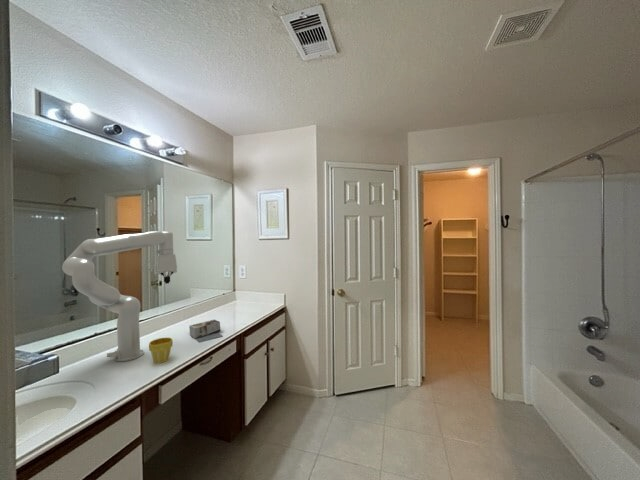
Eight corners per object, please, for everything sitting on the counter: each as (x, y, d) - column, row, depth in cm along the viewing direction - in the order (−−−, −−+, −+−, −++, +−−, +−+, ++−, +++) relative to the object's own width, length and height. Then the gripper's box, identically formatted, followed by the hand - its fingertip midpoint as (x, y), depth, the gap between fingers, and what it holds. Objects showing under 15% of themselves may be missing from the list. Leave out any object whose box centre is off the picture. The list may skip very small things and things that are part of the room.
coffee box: (195, 338, 163) (220, 331, 174) (194, 328, 163) (220, 321, 174) (189, 335, 169) (214, 328, 180) (189, 325, 169) (214, 319, 180)
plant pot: (177, 358, 138) (176, 339, 138) (156, 366, 129) (156, 346, 129) (165, 354, 143) (165, 335, 143) (145, 362, 134) (144, 342, 134)
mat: (199, 342, 158) (199, 341, 158) (190, 333, 173) (189, 333, 173) (222, 336, 167) (222, 335, 167) (212, 328, 182) (212, 327, 182)
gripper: (152, 253, 152) (153, 285, 152) (181, 251, 162) (182, 282, 162) (150, 253, 158) (151, 284, 158) (178, 251, 167) (179, 280, 168)
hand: (167, 283), depth 160 cm, fingers closed
